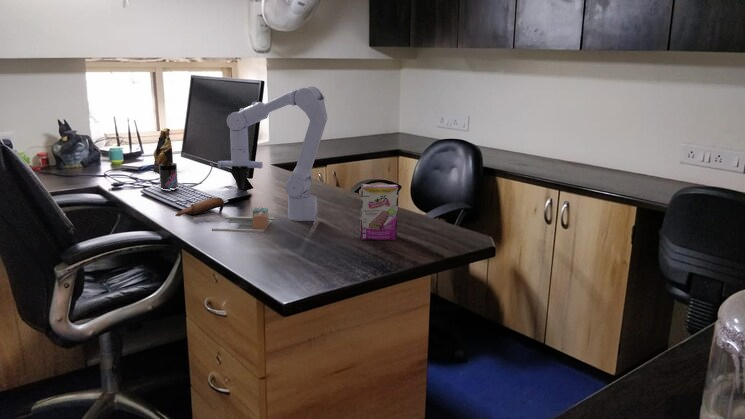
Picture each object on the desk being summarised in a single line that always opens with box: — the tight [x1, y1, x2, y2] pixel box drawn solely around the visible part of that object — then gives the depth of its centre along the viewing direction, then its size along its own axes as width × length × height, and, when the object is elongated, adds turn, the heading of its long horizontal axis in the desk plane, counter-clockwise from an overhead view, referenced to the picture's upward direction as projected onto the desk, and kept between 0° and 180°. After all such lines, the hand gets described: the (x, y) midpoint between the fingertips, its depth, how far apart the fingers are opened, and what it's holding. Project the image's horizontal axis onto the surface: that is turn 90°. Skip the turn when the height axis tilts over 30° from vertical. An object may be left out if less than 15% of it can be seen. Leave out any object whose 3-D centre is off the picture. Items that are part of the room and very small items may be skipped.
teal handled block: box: [252, 206, 269, 216], centre depth 198 cm, size 4×4×5 cm
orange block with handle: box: [252, 212, 270, 230], centre depth 191 cm, size 4×4×5 cm
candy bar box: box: [359, 183, 399, 241], centre depth 185 cm, size 11×5×16 cm, turn 92°
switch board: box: [211, 215, 275, 233], centre depth 195 cm, size 16×15×2 cm
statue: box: [152, 127, 174, 174], centre depth 281 cm, size 12×8×20 cm, turn 37°
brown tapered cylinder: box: [174, 197, 226, 217], centre depth 215 cm, size 18×7×7 cm
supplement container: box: [159, 162, 179, 189], centre depth 246 cm, size 7×7×10 cm
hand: (241, 189), depth 205 cm, fingers closed
